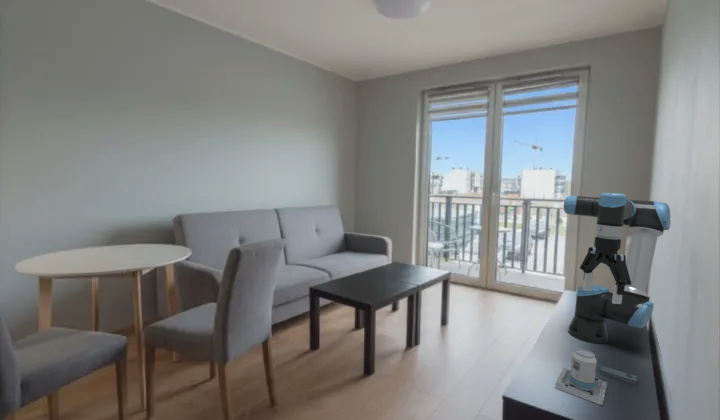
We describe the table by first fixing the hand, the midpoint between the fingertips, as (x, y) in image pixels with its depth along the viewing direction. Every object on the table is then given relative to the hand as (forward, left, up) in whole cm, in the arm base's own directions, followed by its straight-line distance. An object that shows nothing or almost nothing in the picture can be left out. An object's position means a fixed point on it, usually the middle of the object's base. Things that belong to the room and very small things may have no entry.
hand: (601, 296), depth 125 cm
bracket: (-5, +7, -29) cm, 31 cm away
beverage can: (+13, -2, -29) cm, 32 cm away
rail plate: (+14, -2, -29) cm, 32 cm away
